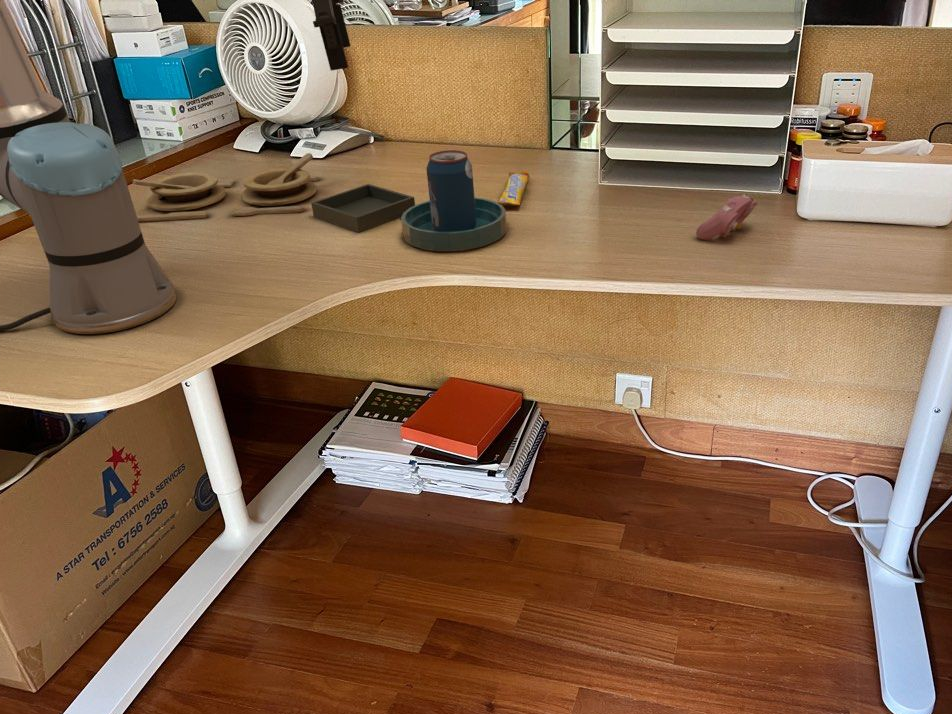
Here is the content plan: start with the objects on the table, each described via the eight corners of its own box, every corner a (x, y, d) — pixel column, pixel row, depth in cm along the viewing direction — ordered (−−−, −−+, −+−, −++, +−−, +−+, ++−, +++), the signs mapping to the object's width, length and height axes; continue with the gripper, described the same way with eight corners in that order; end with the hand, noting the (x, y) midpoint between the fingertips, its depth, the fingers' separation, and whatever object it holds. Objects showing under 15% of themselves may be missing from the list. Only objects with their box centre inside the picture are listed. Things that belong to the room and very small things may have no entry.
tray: (358, 232, 134) (356, 217, 133) (313, 217, 141) (310, 202, 140) (416, 211, 142) (414, 197, 140) (370, 197, 149) (368, 183, 147)
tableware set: (132, 223, 142) (121, 188, 139) (167, 186, 158) (158, 154, 155) (309, 212, 143) (302, 178, 140) (325, 177, 160) (319, 145, 156)
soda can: (485, 227, 133) (479, 151, 127) (462, 242, 128) (455, 164, 122) (448, 221, 136) (441, 147, 130) (424, 235, 131) (415, 159, 125)
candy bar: (508, 180, 154) (508, 169, 153) (531, 180, 154) (530, 169, 153) (494, 211, 140) (494, 200, 139) (519, 211, 140) (519, 200, 139)
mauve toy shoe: (714, 253, 126) (737, 217, 121) (691, 235, 127) (713, 199, 122) (743, 233, 132) (767, 198, 127) (721, 216, 133) (743, 180, 128)
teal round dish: (454, 261, 123) (452, 241, 121) (382, 237, 132) (379, 217, 130) (527, 229, 133) (527, 209, 131) (456, 208, 142) (454, 190, 140)
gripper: (323, -86, 114) (362, 74, 127) (332, -105, 134) (364, 35, 147) (268, -77, 114) (313, 82, 126) (285, -97, 133) (322, 42, 146)
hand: (341, 57), depth 136 cm, fingers open, 13 cm apart
